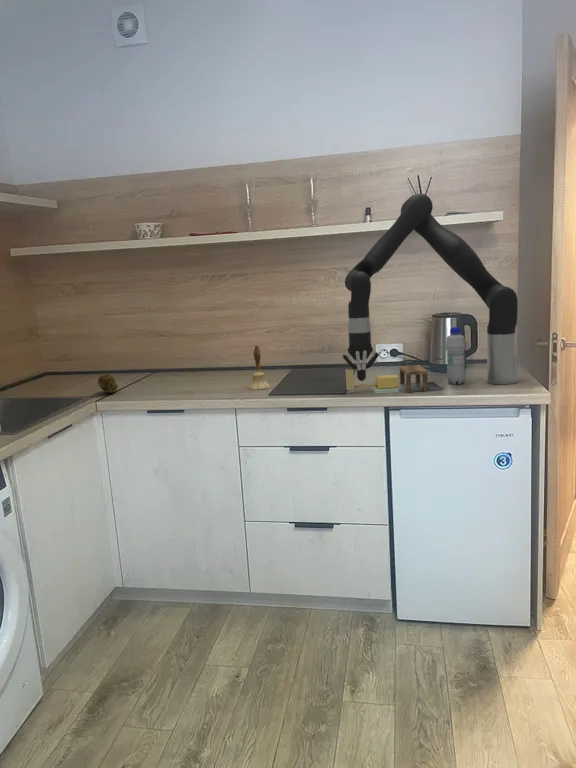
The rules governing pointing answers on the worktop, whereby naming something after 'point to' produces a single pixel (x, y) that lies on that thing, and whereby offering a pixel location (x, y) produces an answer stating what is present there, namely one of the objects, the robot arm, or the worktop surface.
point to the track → (398, 388)
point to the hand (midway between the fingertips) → (361, 380)
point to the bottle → (455, 357)
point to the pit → (434, 386)
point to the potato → (108, 383)
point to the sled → (381, 382)
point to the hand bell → (258, 374)
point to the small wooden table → (411, 371)
